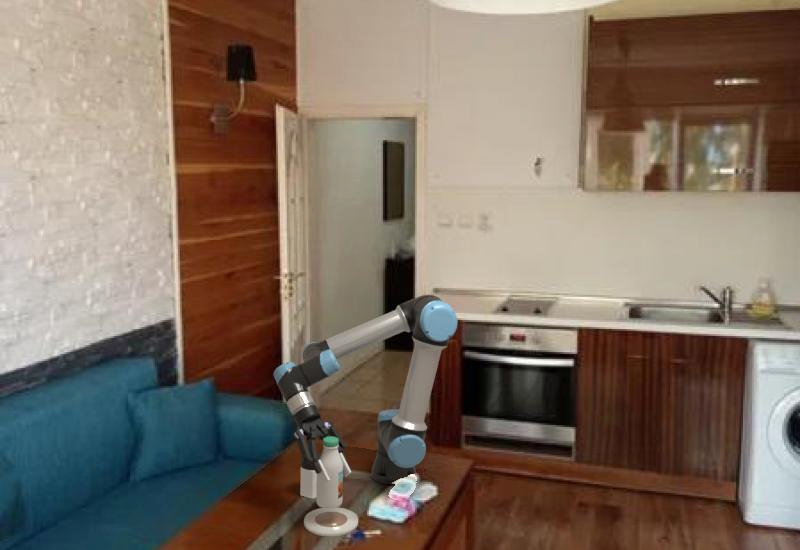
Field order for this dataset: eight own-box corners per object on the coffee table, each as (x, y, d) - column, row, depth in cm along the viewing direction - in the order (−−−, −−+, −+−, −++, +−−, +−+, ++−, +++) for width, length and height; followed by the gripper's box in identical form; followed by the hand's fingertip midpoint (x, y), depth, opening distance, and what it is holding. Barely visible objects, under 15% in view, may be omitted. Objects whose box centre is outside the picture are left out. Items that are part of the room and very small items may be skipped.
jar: (306, 501, 241) (306, 464, 239) (294, 491, 247) (295, 455, 246) (331, 494, 246) (332, 459, 244) (319, 485, 252) (320, 450, 251)
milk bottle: (331, 511, 221) (333, 445, 217) (310, 504, 225) (312, 439, 221) (347, 502, 227) (349, 437, 224) (326, 495, 231) (328, 432, 228)
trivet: (354, 509, 236) (354, 505, 236) (361, 534, 221) (361, 530, 220) (302, 512, 233) (302, 508, 233) (305, 538, 218) (305, 533, 218)
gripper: (324, 409, 240) (357, 474, 231) (271, 423, 226) (304, 493, 217) (335, 397, 236) (369, 463, 227) (282, 411, 221) (316, 482, 213)
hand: (337, 478), depth 222 cm, fingers closed on milk bottle, 7 cm apart
